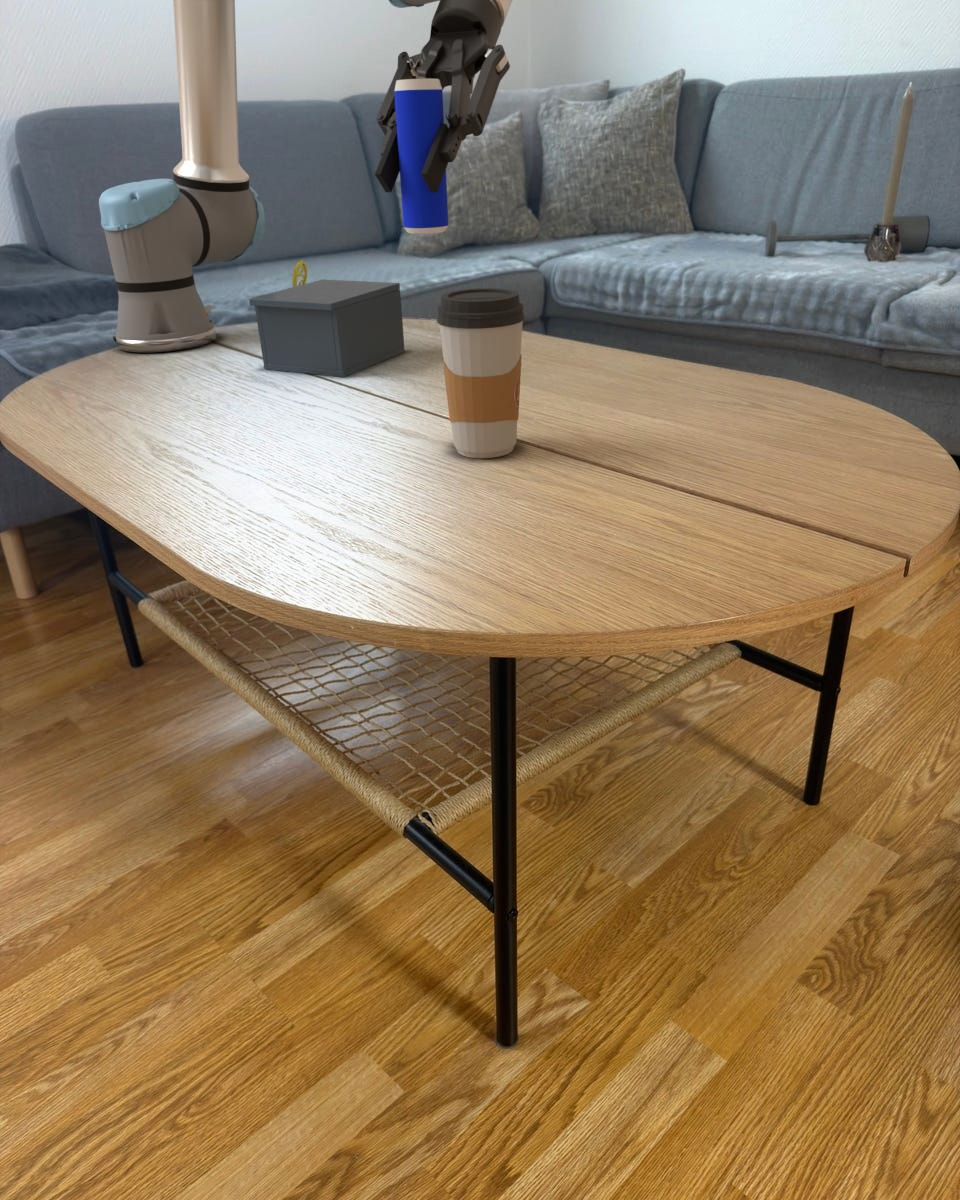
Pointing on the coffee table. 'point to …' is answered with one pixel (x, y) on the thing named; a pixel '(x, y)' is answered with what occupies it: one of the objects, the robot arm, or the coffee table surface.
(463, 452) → the coffee cup
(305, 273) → the yellow spoked ring
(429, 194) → the beverage can
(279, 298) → the lid
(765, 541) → the coffee table surface
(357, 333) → the chest
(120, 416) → the coffee table surface
